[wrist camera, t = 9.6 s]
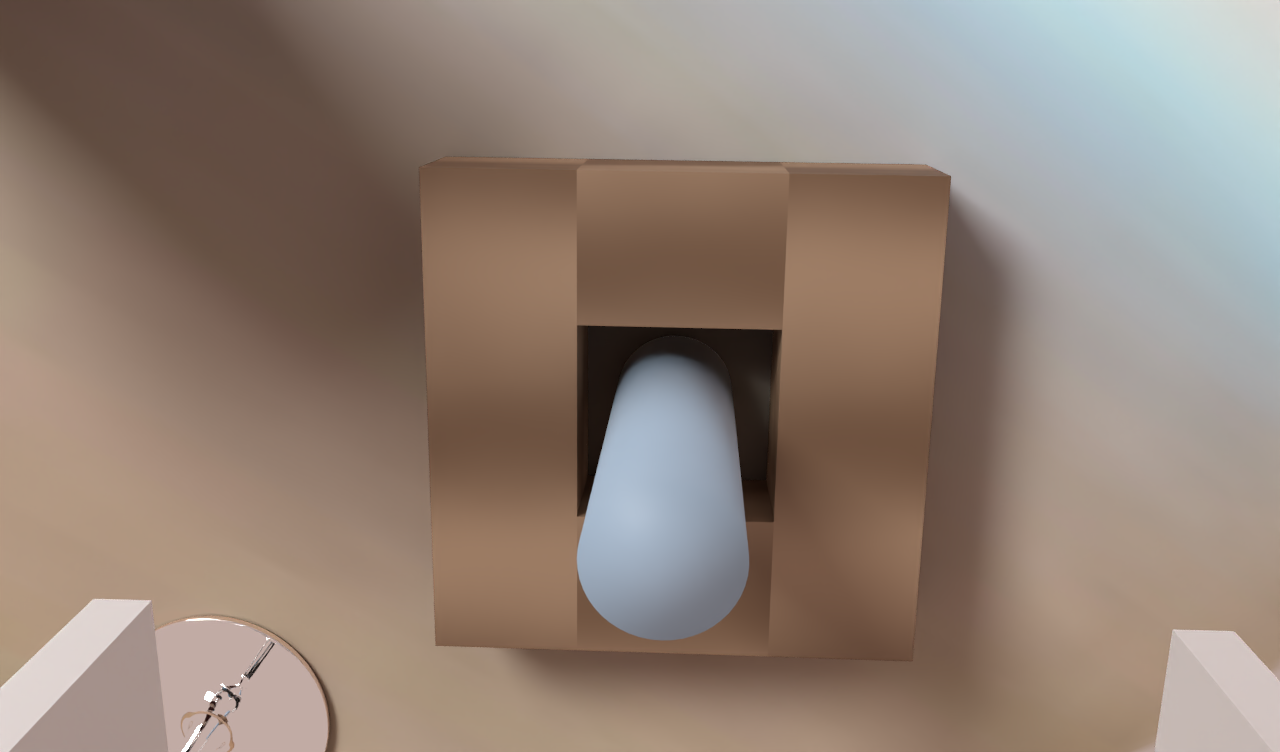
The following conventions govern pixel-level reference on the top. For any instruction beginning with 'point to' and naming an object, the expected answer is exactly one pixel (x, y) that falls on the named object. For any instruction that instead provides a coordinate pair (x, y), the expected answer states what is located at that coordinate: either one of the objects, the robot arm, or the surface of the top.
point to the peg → (667, 497)
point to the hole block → (684, 298)
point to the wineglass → (237, 689)
